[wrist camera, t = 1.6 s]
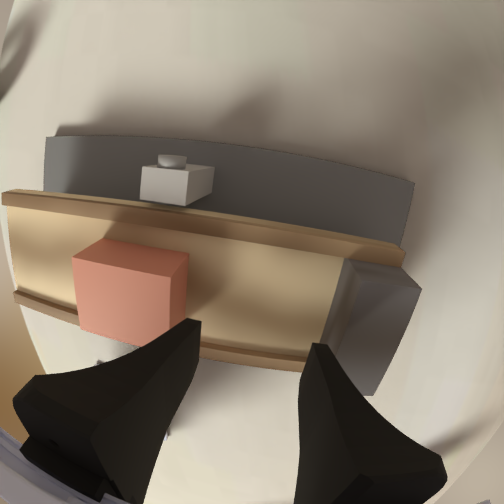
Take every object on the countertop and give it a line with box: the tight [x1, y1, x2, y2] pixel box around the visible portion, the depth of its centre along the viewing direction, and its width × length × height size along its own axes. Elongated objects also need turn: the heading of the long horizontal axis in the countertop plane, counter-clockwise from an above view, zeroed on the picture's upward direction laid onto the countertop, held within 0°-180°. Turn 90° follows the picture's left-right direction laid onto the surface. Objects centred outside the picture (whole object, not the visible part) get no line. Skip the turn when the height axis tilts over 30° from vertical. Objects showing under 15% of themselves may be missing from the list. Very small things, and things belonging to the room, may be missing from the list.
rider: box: [72, 238, 189, 347], centre depth 14 cm, size 4×5×3 cm
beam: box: [2, 189, 422, 396], centre depth 14 cm, size 8×24×4 cm, turn 82°
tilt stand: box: [44, 136, 415, 247], centre depth 18 cm, size 15×27×6 cm, turn 82°
